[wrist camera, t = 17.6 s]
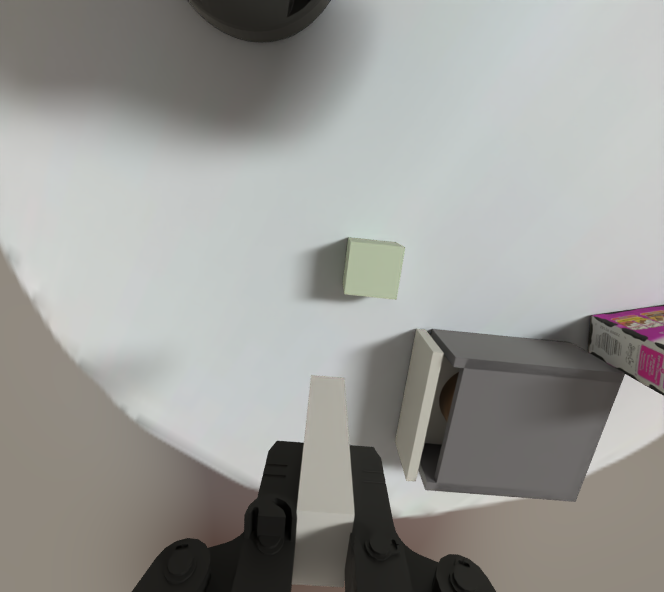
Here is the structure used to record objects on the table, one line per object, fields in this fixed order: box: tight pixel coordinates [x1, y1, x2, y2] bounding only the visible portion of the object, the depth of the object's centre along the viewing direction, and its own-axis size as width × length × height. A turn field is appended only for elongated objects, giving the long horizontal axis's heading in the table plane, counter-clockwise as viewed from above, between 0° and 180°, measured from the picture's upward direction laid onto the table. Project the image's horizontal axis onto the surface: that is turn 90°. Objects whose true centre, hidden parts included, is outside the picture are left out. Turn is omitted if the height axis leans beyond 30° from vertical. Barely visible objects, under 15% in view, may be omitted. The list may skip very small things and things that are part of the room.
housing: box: [418, 329, 625, 502], centre depth 35 cm, size 16×15×7 cm
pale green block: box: [343, 237, 405, 300], centre depth 32 cm, size 5×5×4 cm
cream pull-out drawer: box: [395, 329, 460, 481], centre depth 36 cm, size 16×15×6 cm
